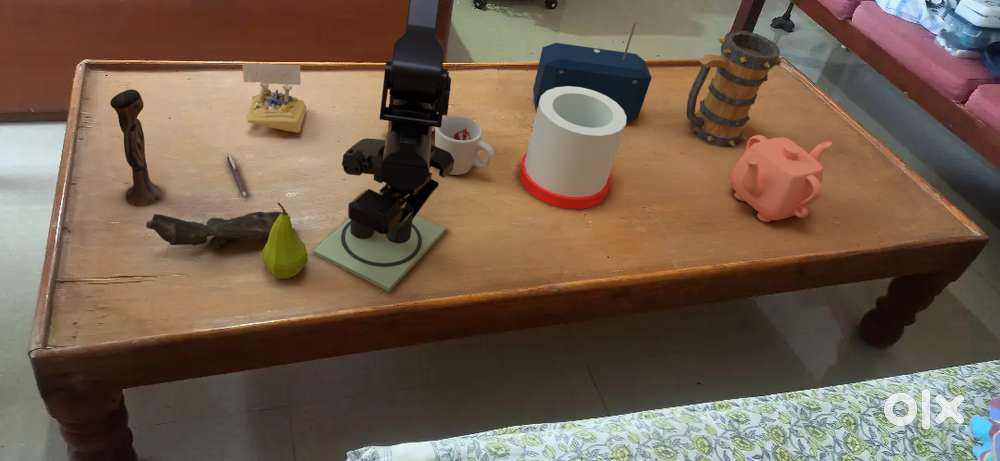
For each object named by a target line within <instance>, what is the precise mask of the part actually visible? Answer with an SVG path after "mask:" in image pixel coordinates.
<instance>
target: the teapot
mask: <svg viewBox="0 0 1000 461" xmlns="http://www.w3.org/2000/svg"><path fill="white" fill-rule="evenodd" d="M832 145H833V143H832V141H830V140H829V141H828V140H826V141H823V142H820V143H819V144H818V145H817V146H815V148H813V149H812V150H811V151H810V152H807V151H806V150H805V149H803V148H802V147H800V146H799V145H798V144H796V143H795V142H793V141H792V140H790V139H788V138H787V137H784V136H782V137H774V138H767V137H766V136H764V135H761V134H756V135H753V136H751V137H750V138H749V139H748V140H747V142H746V147H745V152H744V153H743V155H742V156H741V157H740V158H739V160H738V161H737V163H736V164H735V166H734V168H733V169H732V172H731V173H730V186H731V188H732V189H733V190H734V191H735V192H734V193H733V196H734V198H736V199H737V200H739V201H742V202H745V203H747V205H749V206H750V207H752V208H753V209H754V210H755V211H756V212H758V213H757V215H756V216H757V218H758V219H759V220H760V221H762V222H765V223H767V222H768V223H770V222H771V221H779V220H784V219H788V218H791V217H794V216H795V217H798V218H801V219H804V218H806V217H807V216H808V215H809V209H810V208H811V207H812V206H813V204H814V203H815V202H816V200H817V199H818V198H819V197H820V196H821V194H822V190H823V189H822V181H823V175H824V167H823V165H822V164H821V163H820V162H819V161H820V159H821V157H822V156H823V155H824V153H825V151H826V150H828V149H829V148H830V147H831V146H832Z"/></svg>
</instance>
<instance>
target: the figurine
mask: <svg viewBox="0 0 1000 461" xmlns="http://www.w3.org/2000/svg"><path fill="white" fill-rule="evenodd" d="M109 105H110V106H111V108H112V109H113V110H115V112H116V115H117V120H118V124H119V129H120V130H121V132H122V134H123V148H124V155H125V160H126V163H127V164H128V165H129V167H130V168H131V170H132V183H133V184H132V186H131V187H130V188H128V190H127V191H126V192H125V195H124V198H125V201H126V203H128V204H129V205H131V206H136V207H137V206H138V207H140V206H141V207H142V206H147V205H151V204H154V203H156V202H158V201H160V199H161V198H162V194H163V192H162V190H161V188H160V187H159V186H158V185H156V184H154V183H153V181H151V179H150V175H149V168H148V163H147V160H146V147H145V146H146V145H145V144H146V142H145V134H144V130H143V125H142V122H141V121H140V119H139V118H138V117H139V115H140V113H141V112H142V111H143V109H144V101H143V98H142V95H141V94H140V92H139V91H138V90H136V89H131V88H129V89H127V90H124V91H121V92H119V93H117V94H116V95H115V96H113V97H112V98H111V99H110V102H109Z"/></svg>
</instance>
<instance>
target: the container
mask: <svg viewBox="0 0 1000 461" xmlns="http://www.w3.org/2000/svg"><path fill="white" fill-rule="evenodd" d="M626 118H627V117H626V115H625V113H624V110H623V109H622V108H621V107H620V106H619V105H618V104H617V103H616V102H615V101H613V100H612V99H610V98H609V97H607V96H606V95H603V94H601V93H598V92H596V91H594V90H590V89H585V88H581V87H571V86H565V87H556V88H553V89H550V90H547V91H546V92H545V93H544V94H543V95H541V98H540V101H539V105H538V108H537V109H536V114H535V118H534V122H533V127H532V131H531V135H530V138H529V143H528V148H527V151H526V153H525V154H523V155H522V159H521V163H520V167H519V171H518V175H519V180H520V183H521V184H522V186H523V188H524V189H526V191H527V193H530V195H532V196H533V197H534V198H536V199H537V200H539V201H541V202H543V203H546V204H547V205H549V206H553V207H558V208H561V209H565V210H566V209H568V210H583V209H587V208H593V207H594V206H596V205H598V204H600V203H601V202H602V201H603V200H604V198H606V197H607V194H608V190H609V188H610V183H611V176H610V173H611V171H612V167H613V164H614V161H615V158H616V155H617V152H618V149H619V146H620V143H621V140H622V138H623V134H624V132H625V128H626V124H627V123H626Z"/></svg>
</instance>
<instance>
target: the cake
mask: <svg viewBox="0 0 1000 461" xmlns="http://www.w3.org/2000/svg"><path fill="white" fill-rule="evenodd" d="M242 73H243V74H242V77H243V83H260V85H259V87H260V91H259V93H258V94H256V95H253V96H251V103H250V110H249V113H247V115H246V121H247V123H250V124H254V125H258V126H263V127H268V128H272V129H276V130H281V131H286V132H290V133H297V134H298V133H300V132H301V129H302V126H303V122H304V119H305V115H306V111H307V105H306V103H305V102H304V100H301V99H300V98H299V99H298V97H295V96H292V95H290V91H291V90H292V89H293V86H295V85H301V65H300V64H289V65H288V64H274V63H271V64H259V63H258V64H257V63H256V64H254V63H242ZM274 84H275V85H282V89H283V90H284V93H283V92H281V91H280V92H279V89H276V90H275V91H272V90H271V89H269V85H274ZM168 119H171V117H168Z"/></svg>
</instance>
